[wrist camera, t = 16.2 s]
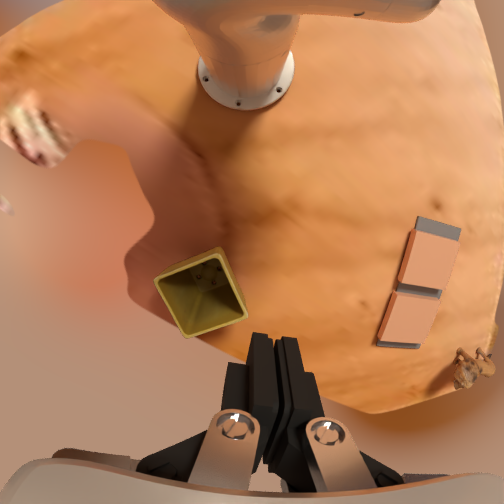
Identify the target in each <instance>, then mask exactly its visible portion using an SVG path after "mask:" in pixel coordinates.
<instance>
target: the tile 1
mask: <svg viewBox="0 0 504 504" xmlns="http://www.w3.org/2000/svg"><path fill="white" fill-rule="evenodd" d="M440 304H441V301H440V300H439V299H438V298H436V297H429V296H423V295H416V294H409V293H403V292H396V291H393V294H392V297H391V299H390V302H389V305H388V308H387V311H386V314H385V316H384V319H383V322H382V325H381V327H380V330H379V332H378V335H377V336H378V338H379V339H380V341H389V342H403V343H418V344H424V343H425V340H426V338H427V336H428V334H429V331H430V329H431V326H432V324H433V322H434V319H435V317H436V314H437V312H438V309H439V306H440Z"/></svg>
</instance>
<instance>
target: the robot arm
mask: <svg viewBox="0 0 504 504" xmlns="http://www.w3.org/2000/svg"><path fill="white" fill-rule="evenodd" d="M153 1H154V2H155V4H156V5H157V6H159V7H160V8H161V9H162V10H163V11H164V12H166V13H167V14H168V15H169V16H171V17H172V18H174V19H175V20H177V21H178V22H180V23H181V24H183V25H184V27H185V28H186V30H187V31H188V33H189V35H190V37H191V39H192V40H193V42H194V44H195V46H196V48H197V50H198V52H199V54H200V58H199V62H198V75H199V78H200V81H201V84H202V86H203V88H204V89H205V91H206V92H207V93H208V95H209V96H210V97H212V98H213V99H214V100H215V101H216V102H218V103H220V104H221V105H223V106H226V107H228V108H231V109H236V110H246V111H250V110H257V109H261V108H264V107H267V106H269V105H271V104H272V103H274V102H276V101H277V100H278V99H279V98H281V97H282V96H283V95H284V93H285V92H286V91H287V90H288V88H289V86H290V84H291V82H292V79H293V76H294V71H295V64H294V58H293V54H292V52H291V50H290V48H291V46H292V43H293V40H294V37H295V34H296V32H297V29H298V25H299V19H300V15H303V14H315V15H331V16H343V17H352V18H361V19H368V20H377V21H383V22H392V23H412V22H416V21H419V20H422V19H424V18H426V17H427V16H428V15H430V14H431V13H432V12H433V11H434V10H435V8H436V7H437V6H438V4H439V2H440V1H441V0H153ZM206 79H209V80H208V81H207V82H205V80H206ZM277 90H280V93H278V92H277ZM237 103H240V106H237ZM262 455H263V464H268V472H269V473H275V474H277V475H278V476H279V477H281V488H282V492H281V493H280V492H260V491H248V488H249V483H250V478H251V475H252V474H253V473H255V472H256V470H257V468H258V465H259V463H260V460H261V458H262ZM0 504H504V479H503V478H502V477H500V476H497V475H494V474H489V473H463V474H455V475H447V474H407V473H404V474H403V475H402V476H400V475H399V474H398V473H397V472H396V471H394V470H392V469H391V468H389V467H387V466H385V465H383V464H382V463H380V462H378V461H376V460H375V459H373V458H371V457H369V456H368V455H366V454H364V453H363V452H361V451H359V450H358V448H357V446H356V444H355V442H354V440H353V438H352V436H351V435H350V432H349V430H348V429H347V428H346V426H345V425H343V424H342V423H341V422H339V421H337V420H335V419H332V418H328V417H325V416H324V411H323V408H322V404H321V400H320V396H319V392H318V388H317V384H316V380H315V376H314V374H313V373H312V372H304V367H303V363H302V358H301V354H300V350H299V345H298V341H297V338H291V337H284V336H282V338H281V340H279V339H276V341H275V344H274V348H273V339H271V338H268V335H267V334H263V333H256V332H253V334H252V338H251V342H250V347H249V351H248V356H247V360H246V365H245V364H238V363H232V362H228V367H227V372H226V378H225V384H224V390H223V397H222V405H221V411H220V412H218V413H217V414H215V415H214V417H213V418H212V420H211V423H210V425H209V428H208V430H206V431H204V432H202V433H200V434H197V435H195V436H193V437H191V438H189V439H186V440H184V441H182V442H180V443H178V444H175V445H173V446H171V447H168V448H166V449H163V450H161V451H159V452H156V453H154V454H151V455H149V456H147V457H145V458H143V459H142V460H133V459H130V456H122V455H113V454H105V453H98V452H90V451H85V450H79V449H73V448H64V449H61V450H58V451H57V452H55V453H54V454H53V456H52V458H45V459H37V460H33V461H30V462H28V463H26V464H24V465H23V466H22V467H21V468H19V469H18V470H17V471H16V472H15V473H14V474H13V476H12V477H11V478H10V479H9V480H8V482H7V483H6V485H5V486H4V488H3V489H2V491H1V492H0Z"/></svg>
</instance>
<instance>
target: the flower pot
mask: <svg viewBox="0 0 504 504" xmlns="http://www.w3.org/2000/svg"><path fill="white" fill-rule="evenodd" d="M205 261H206V265H204V264H203V263H202V262H205ZM218 267H221V268H222V269H221V270H220V271H219V270H218ZM198 275H200V276H201V278H197V276H198ZM153 281H154V284H155V286H156V288H157V290H158V292H159V293H160V295H161V297H162V299H163V300H164V302H165V304H166V306H167V307H168V309H169V311H170V313H171V315H172V317H173V319H174V320H175V322H176V324H177V326H178V328H179V330H180V332H181V333H182V335H183V336H184V337H185V338H186V339H188V338H192V337H195V336H198V335H201V334H203V333H206V332H209V331H212V330H215V329H218V328H221V327H224V326H227V325H230V324H233V323H236V322H239V321H242V320H244V319H246V318H248V312H247V307H246V302H245V298H244V295H243V293H242V290H241V288H240V286H239V284H238V282H237V280H236V278H235V276H234V273H233V271H232V269H231V267H230V264H229V262H228V260H227V257H226V255H225V253H224V250H223V249H222V247H215V248H213V249H211V250H208V251H206V252H203V253H201V254H199V255H196V256H194V257H191V258H189V259H186V260H184V261H181V262H178V263H176V264H173V265H171V266H169V267H168V268H166V269H165V270H164V271H163V272H161V273H160V274H159V275H158V276H157V277H156V278H155V279H154V280H153ZM212 281H215V282H216V284H212Z"/></svg>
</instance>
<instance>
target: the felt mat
mask: <svg viewBox="0 0 504 504" xmlns="http://www.w3.org/2000/svg"><path fill="white" fill-rule="evenodd" d="M415 229H416V230H420V231H423V232H427V233H431V234H435V235H439V236H442V237H446V238H450V239H453V240H456V241H458V239H459V236H460V232H461V229H460V228H457V227H454V226H451V225H447V224H444V223H441V222H437V221H434V220H430V219H427V218H423V217H420V216H418V217H417V221H416V225H415ZM396 292H403V293H409V294H416V295H423V296H429V297H436V298H438V299H440V296H441V293H442V290H441V289H435V288H429V287H423V286H417V285H411V284H405V283H401V282H400V281H399V284H398V287H397V290H396ZM376 345H377V346H386V347H401V348H420V345H421V344H418V343H403V342H389V341H380V339H378V341H377V344H376Z"/></svg>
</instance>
